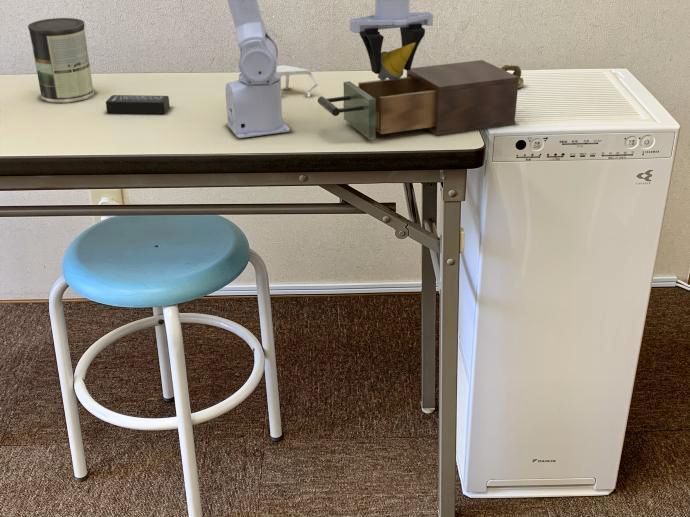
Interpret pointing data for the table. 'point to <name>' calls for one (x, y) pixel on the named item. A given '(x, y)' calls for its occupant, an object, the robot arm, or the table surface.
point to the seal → (515, 73)
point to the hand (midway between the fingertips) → (390, 70)
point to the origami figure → (294, 71)
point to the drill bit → (394, 62)
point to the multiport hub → (137, 104)
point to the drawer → (386, 105)
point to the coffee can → (61, 59)
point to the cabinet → (470, 95)
